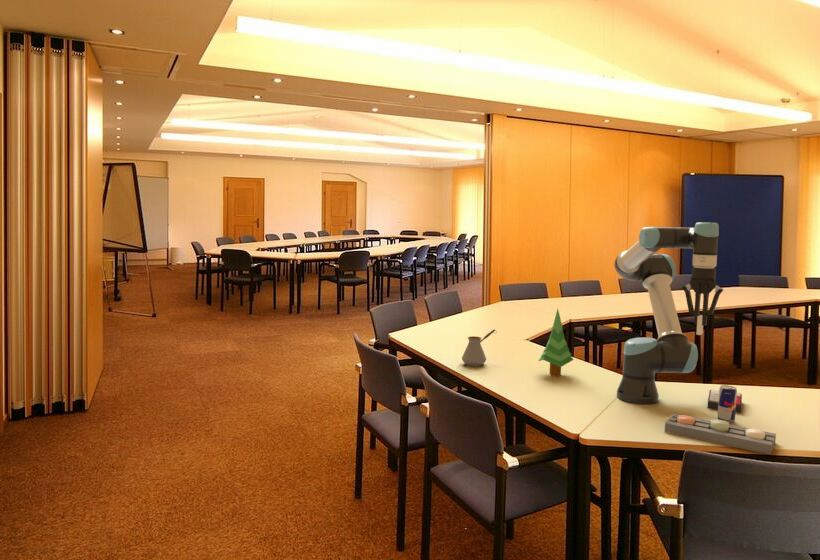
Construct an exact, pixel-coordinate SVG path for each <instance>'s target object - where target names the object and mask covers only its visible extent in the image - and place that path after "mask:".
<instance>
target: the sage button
mask: <svg viewBox="0 0 820 560" xmlns="http://www.w3.org/2000/svg"><path fill="white" fill-rule="evenodd" d="M710 421H711V424H710V429H711V430H716V431H721V432H726V433H728V430H729V425H730V423H728V422H726V421H723V420H718V419H710Z"/></svg>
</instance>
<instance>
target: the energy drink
mask: <svg viewBox="0 0 820 560" xmlns="http://www.w3.org/2000/svg"><path fill="white" fill-rule="evenodd" d="M718 390H719V402H718V410H717V420H723V421H726V422H728V423H729V424H734V423H735V422H736V421H735V420H736V412H735V411H736V397H737V393H738V391H737V390H738V389H737V387H735V386H733V385H728V384H727V385H726V384H724V385H720V386H719V389H718Z"/></svg>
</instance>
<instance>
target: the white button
mask: <svg viewBox="0 0 820 560" xmlns="http://www.w3.org/2000/svg"><path fill="white" fill-rule="evenodd" d="M765 432H766V431H765ZM765 432H764V430H762V429H757V428H750V429H746V434H745V437H750V438H755V439H760V440H765Z"/></svg>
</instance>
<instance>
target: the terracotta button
mask: <svg viewBox="0 0 820 560" xmlns="http://www.w3.org/2000/svg"><path fill="white" fill-rule="evenodd" d="M678 415H679V416H677V423H682V424H687V425H692V426H694V423H695V418H696V417H694V418H693V416H691V415H685V414H678Z"/></svg>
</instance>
